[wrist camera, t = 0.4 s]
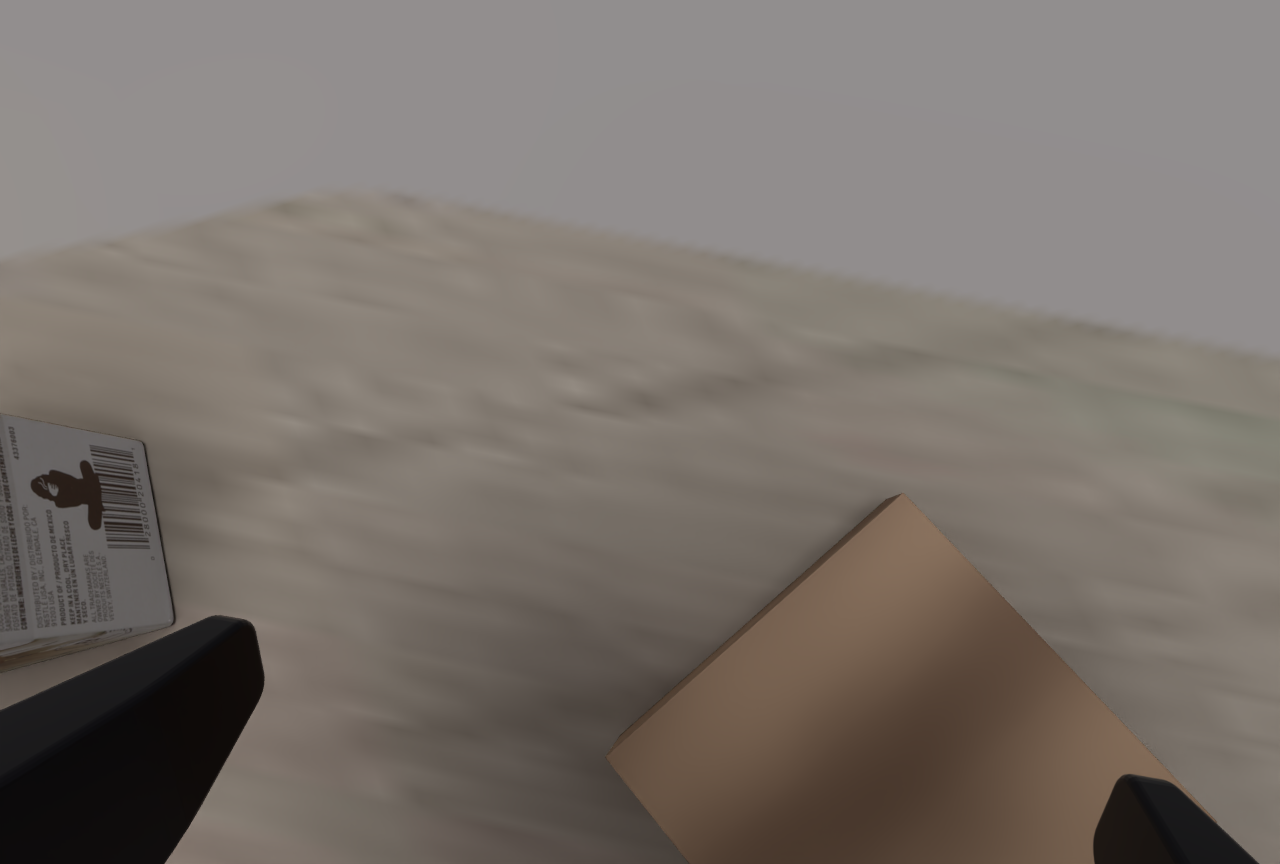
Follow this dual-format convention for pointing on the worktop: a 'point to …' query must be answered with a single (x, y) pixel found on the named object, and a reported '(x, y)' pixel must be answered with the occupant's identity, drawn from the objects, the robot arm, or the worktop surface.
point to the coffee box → (75, 542)
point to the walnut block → (882, 723)
